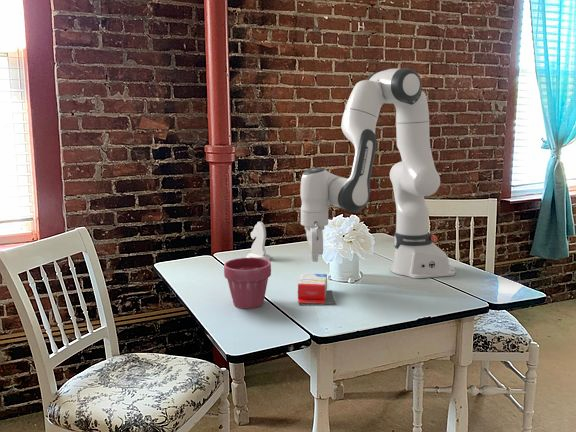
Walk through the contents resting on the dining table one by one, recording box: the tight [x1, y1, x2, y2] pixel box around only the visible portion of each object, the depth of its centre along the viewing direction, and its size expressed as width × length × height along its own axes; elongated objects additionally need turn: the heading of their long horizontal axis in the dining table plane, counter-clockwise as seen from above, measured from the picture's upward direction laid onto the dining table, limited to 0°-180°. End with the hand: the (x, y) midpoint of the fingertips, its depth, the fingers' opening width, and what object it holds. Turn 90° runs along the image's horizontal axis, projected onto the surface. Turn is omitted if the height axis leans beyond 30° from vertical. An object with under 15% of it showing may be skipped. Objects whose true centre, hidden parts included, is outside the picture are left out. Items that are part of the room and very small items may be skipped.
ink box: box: [297, 273, 328, 304], centre depth 179 cm, size 8×5×15 cm
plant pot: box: [223, 257, 272, 309], centre depth 173 cm, size 14×14×13 cm
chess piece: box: [245, 221, 272, 261], centre depth 221 cm, size 10×10×15 cm
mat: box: [298, 289, 337, 306], centre depth 178 cm, size 11×12×1 cm
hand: (314, 260), depth 186 cm, fingers closed
